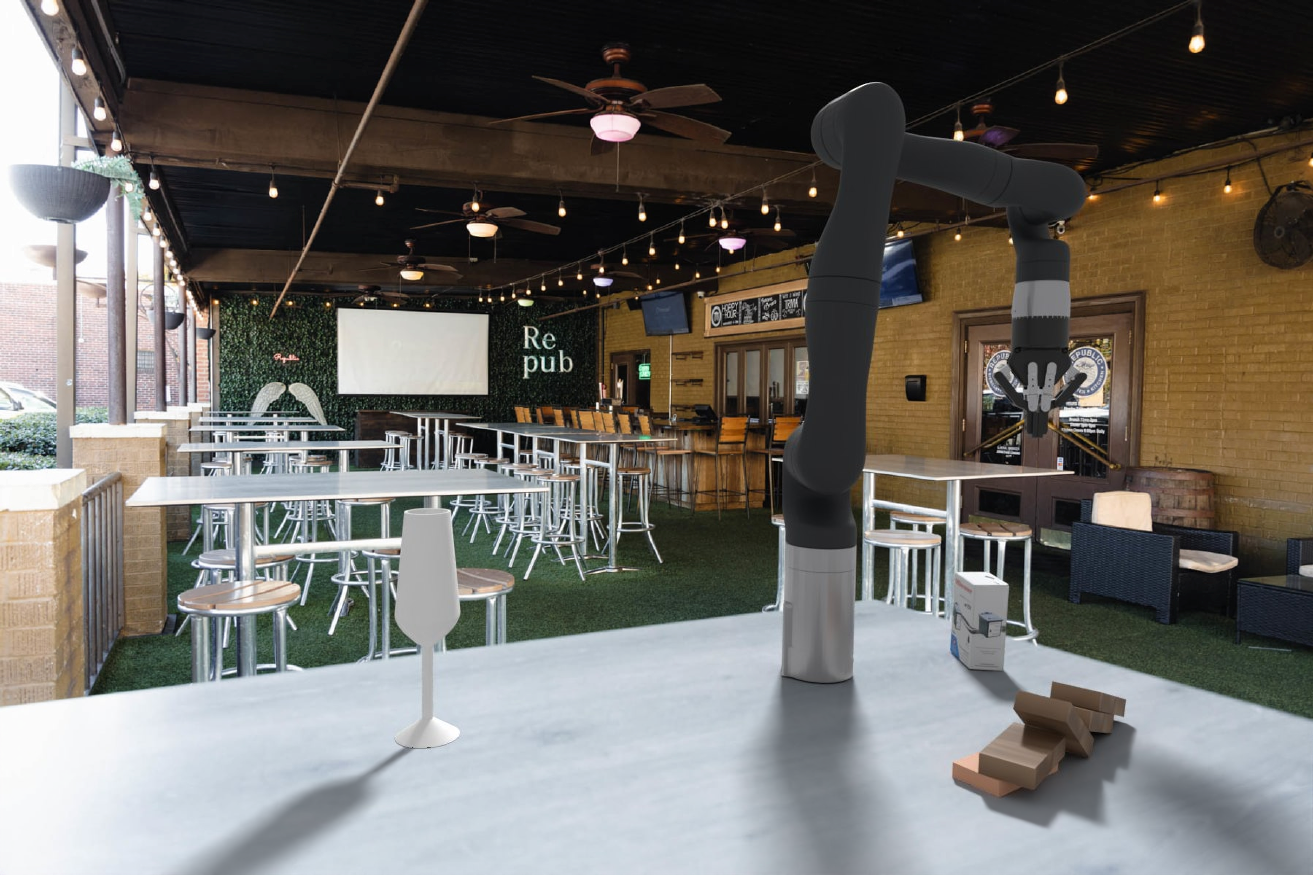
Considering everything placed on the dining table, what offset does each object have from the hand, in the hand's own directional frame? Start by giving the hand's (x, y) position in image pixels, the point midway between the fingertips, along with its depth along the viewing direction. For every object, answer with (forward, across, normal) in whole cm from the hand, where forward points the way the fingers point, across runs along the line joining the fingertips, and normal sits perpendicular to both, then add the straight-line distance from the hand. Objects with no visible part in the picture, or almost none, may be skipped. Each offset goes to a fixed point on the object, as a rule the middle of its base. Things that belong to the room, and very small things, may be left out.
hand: (1035, 437), depth 122 cm
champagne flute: (+31, -71, -46) cm, 90 cm away
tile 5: (+31, -8, -39) cm, 50 cm away
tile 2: (+30, 0, -28) cm, 41 cm away
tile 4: (+29, -8, -39) cm, 49 cm away
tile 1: (+30, +2, -24) cm, 38 cm away
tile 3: (+30, -4, -35) cm, 47 cm away
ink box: (+31, -8, -6) cm, 33 cm away
